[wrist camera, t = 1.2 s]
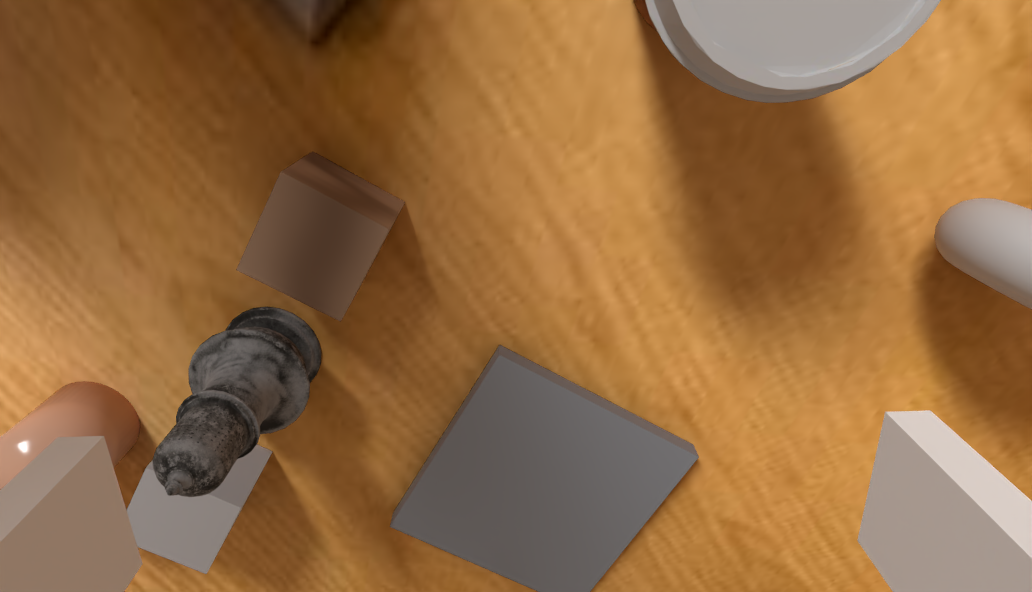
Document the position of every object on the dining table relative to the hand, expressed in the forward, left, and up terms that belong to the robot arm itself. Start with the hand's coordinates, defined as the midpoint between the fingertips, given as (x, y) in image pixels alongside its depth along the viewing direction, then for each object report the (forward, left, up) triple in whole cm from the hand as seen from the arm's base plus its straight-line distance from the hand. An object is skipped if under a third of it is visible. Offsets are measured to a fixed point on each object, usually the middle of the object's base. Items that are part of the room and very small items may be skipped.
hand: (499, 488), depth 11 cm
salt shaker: (-6, -14, -23) cm, 28 cm away
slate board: (+11, -14, -23) cm, 29 cm away
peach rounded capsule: (-13, -23, -23) cm, 35 cm away
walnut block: (-6, -5, -23) cm, 25 cm away
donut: (+23, +10, -23) cm, 34 cm away
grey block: (-6, -22, -23) cm, 33 cm away
